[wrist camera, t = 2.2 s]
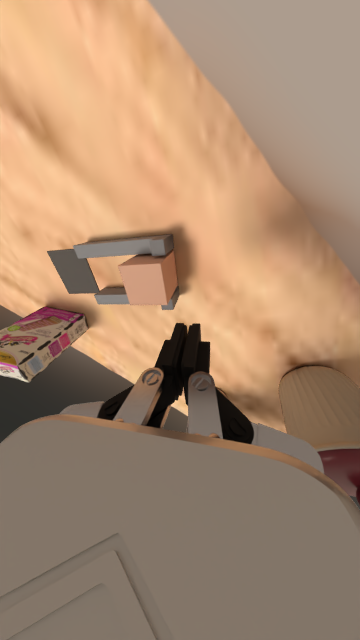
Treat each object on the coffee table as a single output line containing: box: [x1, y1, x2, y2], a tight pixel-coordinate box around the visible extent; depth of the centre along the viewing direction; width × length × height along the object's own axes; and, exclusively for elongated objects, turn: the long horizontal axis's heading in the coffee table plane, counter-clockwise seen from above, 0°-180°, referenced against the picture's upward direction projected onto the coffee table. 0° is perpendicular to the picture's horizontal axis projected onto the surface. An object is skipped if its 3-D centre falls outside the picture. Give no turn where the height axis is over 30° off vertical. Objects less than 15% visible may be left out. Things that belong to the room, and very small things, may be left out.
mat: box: [47, 249, 99, 294], centre depth 33 cm, size 9×8×1 cm
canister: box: [279, 366, 360, 505], centre depth 30 cm, size 18×18×21 cm
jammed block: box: [118, 250, 178, 305], centre depth 26 cm, size 6×6×8 cm
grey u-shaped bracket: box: [73, 234, 179, 310], centre depth 28 cm, size 11×16×6 cm
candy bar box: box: [0, 307, 88, 382], centre depth 34 cm, size 11×5×16 cm, turn 84°
